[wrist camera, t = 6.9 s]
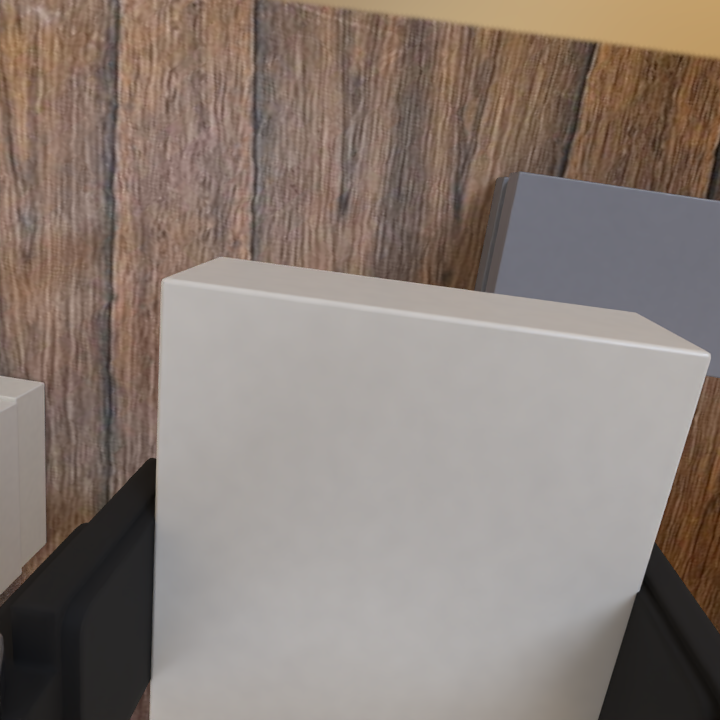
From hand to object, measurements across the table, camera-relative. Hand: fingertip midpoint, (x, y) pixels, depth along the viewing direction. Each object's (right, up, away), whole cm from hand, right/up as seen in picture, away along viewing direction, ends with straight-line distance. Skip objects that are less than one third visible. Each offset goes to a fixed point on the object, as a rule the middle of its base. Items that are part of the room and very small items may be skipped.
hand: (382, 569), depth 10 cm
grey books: (+10, +8, +17) cm, 22 cm away
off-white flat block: (0, 0, +1) cm, 1 cm away
